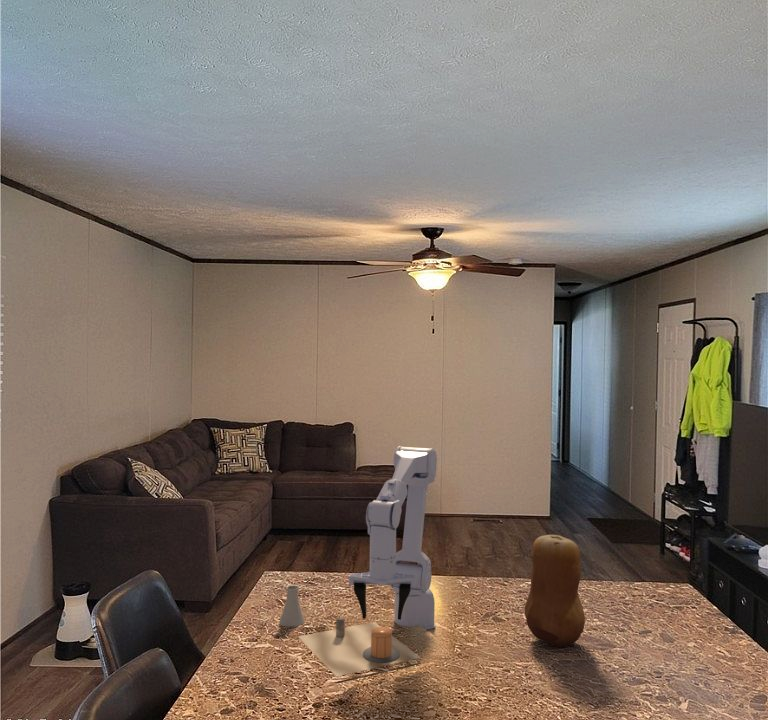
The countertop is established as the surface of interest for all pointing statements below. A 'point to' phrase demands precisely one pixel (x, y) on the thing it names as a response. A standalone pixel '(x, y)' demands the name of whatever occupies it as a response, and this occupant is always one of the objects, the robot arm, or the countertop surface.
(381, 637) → the orange domed tapered piece
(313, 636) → the board
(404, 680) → the countertop surface
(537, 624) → the butternut squash
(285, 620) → the flask
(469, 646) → the countertop surface
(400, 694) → the countertop surface
